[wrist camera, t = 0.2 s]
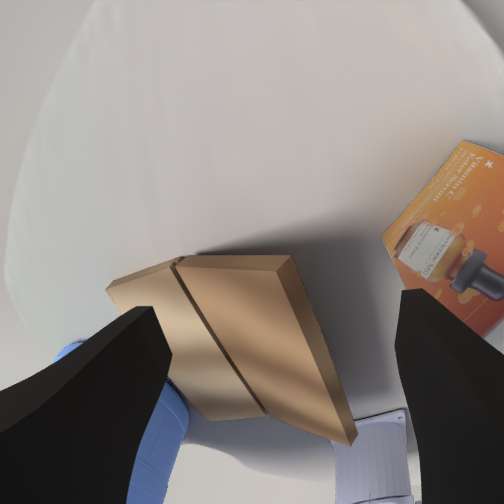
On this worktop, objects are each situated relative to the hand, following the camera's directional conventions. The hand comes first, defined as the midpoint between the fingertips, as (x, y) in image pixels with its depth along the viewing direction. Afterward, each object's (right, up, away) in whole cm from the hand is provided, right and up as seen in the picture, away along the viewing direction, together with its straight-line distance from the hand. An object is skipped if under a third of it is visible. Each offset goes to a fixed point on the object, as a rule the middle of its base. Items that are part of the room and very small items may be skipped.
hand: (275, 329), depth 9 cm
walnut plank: (+1, -5, +11) cm, 12 cm away
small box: (+11, +4, +7) cm, 14 cm away
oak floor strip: (-5, -6, +15) cm, 17 cm away
